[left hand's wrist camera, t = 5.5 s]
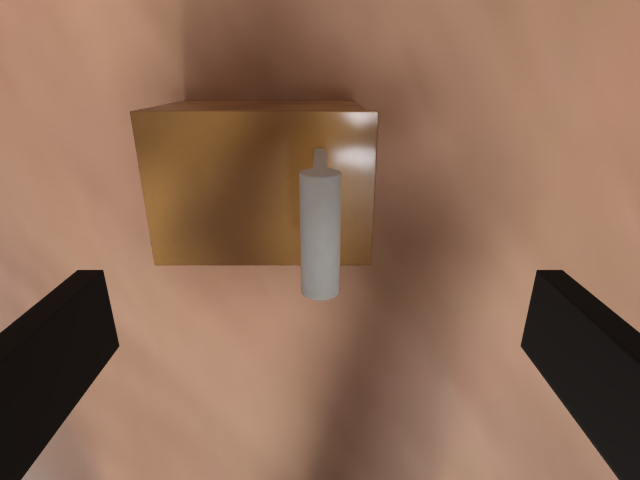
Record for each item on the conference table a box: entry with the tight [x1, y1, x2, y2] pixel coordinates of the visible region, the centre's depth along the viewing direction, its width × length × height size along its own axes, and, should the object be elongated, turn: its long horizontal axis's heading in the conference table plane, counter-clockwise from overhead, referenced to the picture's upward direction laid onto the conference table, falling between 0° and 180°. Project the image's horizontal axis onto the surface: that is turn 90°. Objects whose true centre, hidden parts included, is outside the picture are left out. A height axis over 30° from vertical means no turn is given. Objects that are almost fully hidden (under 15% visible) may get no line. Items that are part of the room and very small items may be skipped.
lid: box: [130, 110, 379, 301], centre depth 22 cm, size 14×10×9 cm
